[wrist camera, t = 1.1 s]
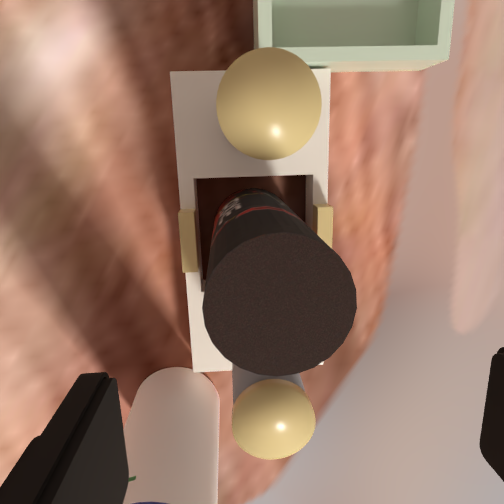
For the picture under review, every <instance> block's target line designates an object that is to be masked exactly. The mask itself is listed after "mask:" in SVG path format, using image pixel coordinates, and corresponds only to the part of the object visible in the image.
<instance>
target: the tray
mask: <svg viewBox="0 0 504 504" xmlns="http://www.w3.org/2000/svg"><path fill="white" fill-rule="evenodd" d="M454 3H455V0H253V28H254V49H258V48H264V47H275V48H280V49H284V50H287V51H290V52H291V53H293V54H295V55H297V56H298V57H299V58H301V59H302V60H303V61H304V62H305V63H306V64H307V65H308V66H309V67H310V69H331V72H372V71H420V70H423V69H426V68H428V67H431V66H433V65H436V64H438V63H441V62H444V61H446V60H449V53H450V43H451V32H452V23H453V13H454Z"/></svg>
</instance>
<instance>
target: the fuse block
mask: <svg viewBox="0 0 504 504" xmlns="http://www.w3.org/2000/svg"><path fill="white" fill-rule="evenodd" d="M330 76H331V69H310V67H309V66H308V65H307V64H306V63H305V62H304V61H303V60H302V59H301V58H299V57H298V56H297V55H295V54H293V53H291V52H290V51H287V50H284V49H280V48H275V47H264V48H258V49H254V50H252V51H249V52H247V53H245V54H243V55H242V56H240V57H239V58H238V59H236V60H235V61H234V62H233V63H232V64H231V65H230V66H229V68H228V69H227V70H222V71H170V81H171V94H172V106H173V119H174V132H175V145H176V158H177V170H178V183H179V196H180V211H179V212H178V221H179V233H180V246H181V258H182V271H183V273H186V286H187V298H188V311H189V324H190V337H191V350H192V363H193V373H196V372H212V371H228V370H232V378H233V409H232V431H233V435H234V438H235V440H236V442H237V443H238V445H239V446H240V447H241V448H242V449H243V450H244V451H245V452H247V453H248V454H250V455H252V456H255V457H258V458H262V459H280V458H284V457H287V456H290V455H292V454H294V453H296V452H297V451H299V450H300V449H302V448H303V447H304V446H305V445H306V444H307V443H308V441H309V440H310V438H311V437H312V435H313V432H314V429H315V414H314V411H313V408H312V405H311V402H310V399H309V397H308V395H307V394H306V393H305V389H304V386H303V383H302V380H301V377H300V374H299V373H297V374H293V375H285V376H277V377H276V376H267V375H258V374H255V373H252V372H249V371H247V370H244V369H241V368H239V367H238V366H236V365H235V364H233V363H232V362H230V361H229V360H227V359H226V358H224V356H223V355H222V354H221V353H220V352H219V350H218V349H217V348H216V347H215V346H214V345H213V343H212V341H211V339H210V337H209V335H208V332H207V330H206V328H205V324H204V318H203V311H202V305H203V298H204V290H205V283H206V280H203V272H202V256H201V241H200V226H199V210H198V195H197V180H196V178H223V177H253V176H283V175H306V208H305V223H306V224H307V225H308V226H309V227H310V228H311V229H312V230H313V231H314V232H315V233H316V234H317V235H318V236H319V237H320V238H321V239H322V240H323V241H324V242H325V243H326V244H327V245H328V246H329V247H331V248H332V231H333V207H332V206H331V205H329V204H327V196H328V156H329V116H330ZM318 365H323V362H321V363H320V364H318Z"/></svg>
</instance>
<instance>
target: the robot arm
mask: <svg viewBox="0 0 504 504" xmlns="http://www.w3.org/2000/svg"><path fill="white" fill-rule="evenodd" d="M480 449H481V453H482V455H483V457H484V458H485V459H486V461H487V462H488V463H489V465H490V466H491V467H492V468H493V469H494V470H495V472H496V473H497V474H498V475H499V476H500V477H501V479H502V480H503V481H504V347H502V348H500V349H499V350H498V352H497V354H495V355H494V356H493V357H492V361H491V368H490V375H489V382H488V389H487V395H486V402H485V409H484V417H483V423H482V431H481V436H480ZM128 481H129V468H128V461H127V453H126V446H125V438H124V431H123V423H122V416H121V409H120V401H119V394H118V386H117V381H116V379H115V378H109V376H108V374H107V373H106V372H101V373H85V374H81V375H80V376H79V377H78V378H77V380H76V381H75V383H74V385H73V386H72V388H71V389H70V391H69V392H68V394H67V395H66V397H65V398H64V400H63V402H62V403H61V405H60V406H59V408H58V409H57V411H56V412H55V414H54V415H53V417H52V419H51V420H50V422H49V423H48V425H47V426H46V428H45V429H44V431H43V433H42V434H41V436H37V437H35V438H34V439H33V440H32V441H31V442H30V444H29V445H28V447H27V448H26V450H25V451H24V453H23V454H22V456H21V457H20V459H19V460H18V462H17V463H16V465H15V466H14V468H13V469H12V471H11V472H10V474H9V475H8V477H7V478H6V480H5V481H4V483H3V484H2V486H1V487H0V504H123V502H124V498H125V495H126V491H127V487H128Z"/></svg>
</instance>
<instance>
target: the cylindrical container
mask: <svg viewBox="0 0 504 504" xmlns="http://www.w3.org/2000/svg"><path fill="white" fill-rule="evenodd" d="M219 409H220V400H219V395H218V392H217V390H216V388H215V386H214V385H213V383H212V382H211V381H210V380H209V379H208V378H207V377H206V376H205V375H203V374H201V373H199V372H196V373H193V370H192V369H189V368H184V367H170V368H165V369H162V370H159V371H157V372H155V373H153V374H151V375H150V376H149V377H147V378H146V379H145V380H144V381H143V382H142V384H141V385H140V387H139V388H138V391H137V393H136V396H135V399H134V401H133V404H132V407H131V410H130V413H129V415H128V418H127V421H126V424H125V427H124V429H123V431H124V438H125V446H126V453H127V461H128V468H129V481H128V487H127V491H126V495H125V498H124V502H123V504H217V498H218V452H219Z"/></svg>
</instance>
